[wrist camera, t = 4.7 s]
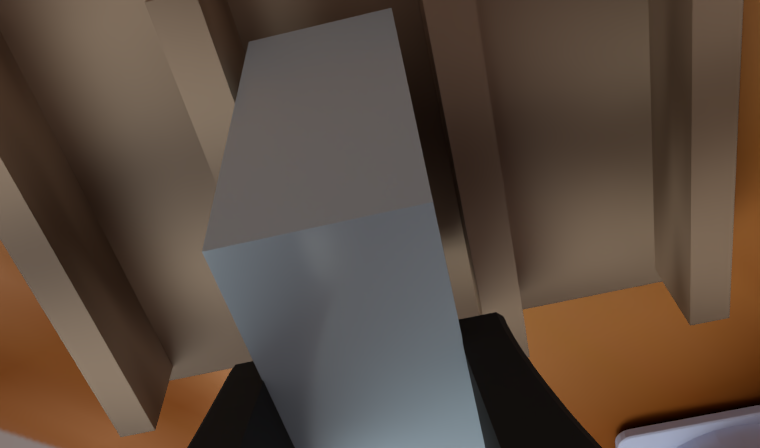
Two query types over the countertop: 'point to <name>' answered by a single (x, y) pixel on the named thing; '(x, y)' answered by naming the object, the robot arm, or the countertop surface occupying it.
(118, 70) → the rack
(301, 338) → the grey block
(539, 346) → the countertop surface
